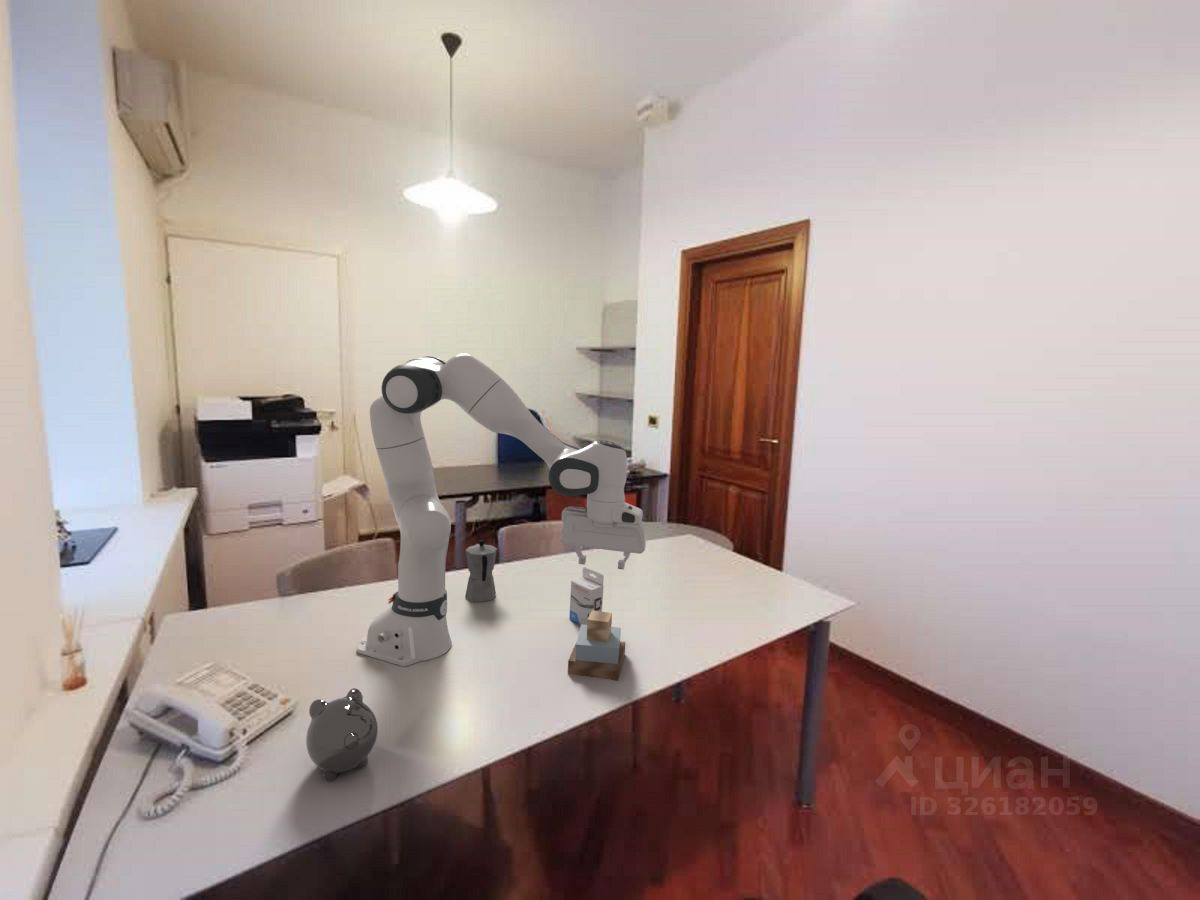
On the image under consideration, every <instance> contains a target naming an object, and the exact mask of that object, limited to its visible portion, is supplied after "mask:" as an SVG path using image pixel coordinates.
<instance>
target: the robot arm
mask: <svg viewBox="0 0 1200 900" xmlns="http://www.w3.org/2000/svg"><path fill="white" fill-rule="evenodd" d="M381 395H382V396H380V397H378V398H376V399H375V400H374V401H373V402H372V403H371V405H370V407H369V420H370V428H371V433H372V438H373V442H374V446H375V449H376V452H377V456H378V457H377V458H378V461H379V463H380V467H381V470H382V473H383V477H384V480H385V483H386V489H387V492H388V495H389V500H390V503H391V506H392V511H393V515H394V518H395V520H396V523H397V525H398V527H399V533H400V545H399V546H400V547H399V549H400V550H399V558H398V564H397V574H398V575H397V581H398V583H397V584H398V585H397V586H398V588H397V589H398V590H397V591H396V592H395V593H393V594H392V596H391V597H389V598H388V599H387V600H388V603H387V604H388V605H389V604H392V605H391V606H390V607H388V608H387V609H386V610H384V611H383V612H382V613H380V614H378V616H376V617H375V618H374V619H373V620H372V622H371V623H370V625H369V626H368V629H367V634H366V635H364V636H363V637H362V638H361V639H360V640H359V642H358V644H357V648H356V653H358V654H360V655H364V656H368V657H371V658H373V659H378V660H381V661H385V662H388V663H391V664H394V665H398V666H401V667H406V666H410V665H412V664H415V663H419V662H423V661H427V660H432V659H435V658H437V657H440V656H442V655H443V654H445V653H447V652H448V651H449V650H450V648H451V647H452V639H451V636H450V633H449V628H448V621H447V620H448V619H447V613H448V592H447V590H446V561H447V553H448V550H449V549H448V547H449V540H450V535H451V531H452V529H451V528H452V526H451V523H452V522H451V518H450V514H449V513H448V511H447V510H446V508H445V507H444V505H443V504H442V502H441V501H440V498H439V496H438V492H437V491H438V490H437V486H436V482H435V481H436V480H435V474H434V466H433V463H432V459H431V455H430V450H429V448H428V444H427V440H426V436H425V433H424V430H423V426H422V420H421V415H422V412H423V411H425V410H427V409H429V408H432V407H433V406H435V405H436V404H438V403H439V402H440V401H441V400H448V401H451V402H453V403H455V404H456V405H457V406H458V407H460V408H461V409H462V410H463V411H464V412H465V413H466V414H468V416H470V418H471V419H473V420H474V421H475V422H477V424H479V425H481V426H482V427H484V428H485V429H486V430H489V431H491V432H492V433H494V434H495V433H496V434H503V435H508V436H511V437H514V438H515V439H517V440H519V441H521V442H522V443H524V444H525V446H527V447H528V448H529V449H530V450H532V452H534V453H535V454H536V455H537V456H538V457H540V459H542V460H543V461H544V463H546V464H547V467H548V469H549V471H548V482H549V485H550V486H551V488H552V490H554V491H555V492H556V493H557V494H558V495H561V496H564V497H575V496H576V497H577V496H583V495H587V497H586V507H584V506H572V505H569V506H568V507H565V508H564V509H562V511H561V522H562V526H561V527H562V528H561V532H560V533H561V534H560V542H561V543H562V545H565V546H571V547H574V552H575V554H576V556H577V557H578V565H586V563H587V555H584V554H583V552H582V549H583V548H589V549H596V550H597V549H598V550H604V551H605V550H606V551H614V552H622V553H623V558H622V559H619V560H618V561H617V569H618V570H624V569H625V565H626V562H627V561H628V559H629V558H630V555H631V554H639V555H641V554H643V553H644V552H645V550H646V548H647V547H646V546H647V545H646V544H647V532H646V531H647V530H646V525H645V524H646V523H645V522H644V521H643V518H644V517H643V515H644V513H643V512H644V511H643V510H642V509H641V508H640V507H637V506H635V505H632V504H630V503H628V502H626V495H625V485H626V482H627V477H628V476H627V473H628V459H627V458H628V457H627V452H626V450H625V449H624V448H623V447H622V446H621V445H620V444H618V443H615V442H612V441H608V440H602V439H598V440H594V441H593V442H592V443H590V444H588V445H586V446H585V447H583V448H578V447H576V446H573V445H570V444H567V443H565V442H563V441H561V440H560V438H558V437H557V436H556V435H554V434H553V432H552V431H550V429H548V428H547V427H545V426H544V425H543V424H542V423H541V422H540V421H539V420H538V419H536V417H535V416H534V415H533V414H532V413H531V411H530V410H529V409H528V407H527V406H526V404H525V403H524V402H523V401H522V399H521V398H520V396H519V395H518V394H517V393H516V392H515V390H514V389H513V388H512V387H511V386H510V385H509V384H508V383H507V382H506V380H504V379H503V378H502V377H501V376H500V375H499V374H498V373H496V372H495V371H494V370H493V369H491V367H489V366H488V365H486V363H484V362H482V361H480V360H479V359H477V357H474V356H473V355H471V354H468V353H459V354H456V355H454V356H452V357H451V358H449V359H448V360H447V361H445V360H443V359H441V358H438V357H436V356H422V357H417V358H412V359H409V360H408V361H407V360H406V361H405V362H404V363H402V364H398V365H395V366H394V367H393V368H391V369H390V370H389V371H388V372H387V373H386V374H385V376H384V377H383V380H382V383H381Z"/></svg>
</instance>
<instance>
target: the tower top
mask: <svg viewBox="0 0 1200 900" xmlns="http://www.w3.org/2000/svg"><path fill="white" fill-rule="evenodd" d="M621 630H622V629H621V627H618V626H617V627H615V626H611V634H610V636H609V639H608V641H607V642H604V641H597V640H591V639H587V625H583V624H581V625H580V628H579V631H578V635H577V639H576V642H575V644H576V656H575V660H579V661H590V662H600V663H611V664H618V657H619V647H620V641H621V633H622V632H621Z"/></svg>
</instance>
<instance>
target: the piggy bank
mask: <svg viewBox="0 0 1200 900" xmlns="http://www.w3.org/2000/svg"><path fill="white" fill-rule="evenodd" d="M363 697H364V695H363V694H362V691H360V689H358V688H355V687H353V688H351V689H349V691H348V692H347V694H346V695H345V696H344V697H340V698H339V697H338V698H335V699H333V700H331V701H329V702H327V701H326V700H324V699H319V698H318V699H315V700H313V701H312V702H311V704H310V706H309V709H308V712H309V717H310V718H311V720H310V723H309V726H308V728H307V731H306V736H305V738H306V739H305V745H306V751H307V753H308V756H309V758H310V760H311V761H312V763H313V764H314V765H315V766H317V767H318V768H320V769H321V770H322V772H323V779H324V781H325V782H332V781H334V780H335V779H336V778H337V775H338V773H343V772H347V771H350V770H353V769H354V768H356V767H357V768H358V769H360V770H361V769H365V768H366V767H367V766H368V764H369V755H370V753H371V752H372V750H373V749H374V747H375V746H376V745H375V744H376V741H377V739H378V734H379V733H378V732H379V731H378V730H379V729H378V728H379V727H378V721H377V718H376V715H375V713H374V712H373V710H372V709H371V708H370V707H369V706H368V705H367V704H366V703H365V702H364V700H363V699H364V698H363Z"/></svg>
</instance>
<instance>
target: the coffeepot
mask: <svg viewBox="0 0 1200 900" xmlns="http://www.w3.org/2000/svg"><path fill="white" fill-rule="evenodd" d="M497 551H498V548H497V547H496V546H493V545H491V544H485V540H484V539H480V540H478V543H476V544H475V545H471V546H468V547H467V548H466V549H465V555H466V562H467V569H468V572H469V577H468V580H467V586H466V591H465V598H466V599H467V600H468V601H470V602H474V603H484V602H489V601H492V600H494V598H495V597H496V594H497V593H496V585H495V580H494V574H493V570H494V569H495V562H496V557H497Z"/></svg>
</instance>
